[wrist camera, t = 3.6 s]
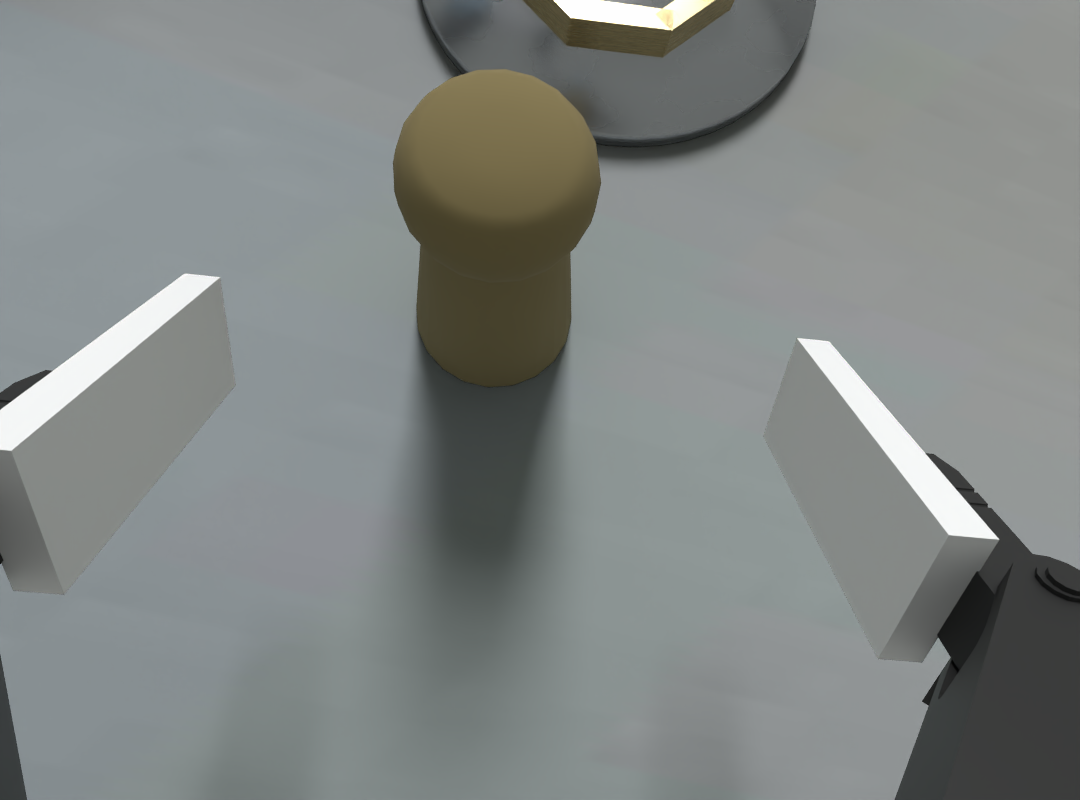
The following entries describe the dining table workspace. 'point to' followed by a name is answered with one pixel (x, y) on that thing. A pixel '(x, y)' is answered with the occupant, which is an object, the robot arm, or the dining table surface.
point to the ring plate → (634, 56)
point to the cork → (495, 220)
